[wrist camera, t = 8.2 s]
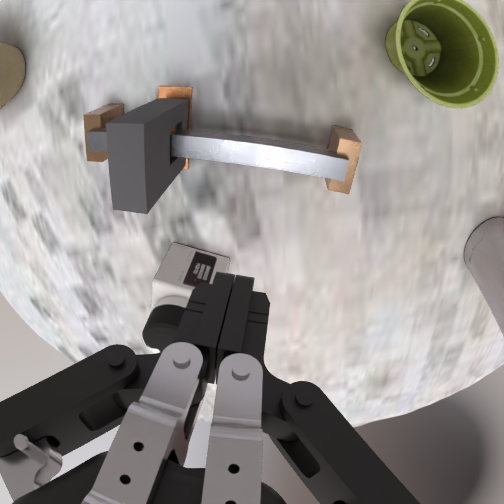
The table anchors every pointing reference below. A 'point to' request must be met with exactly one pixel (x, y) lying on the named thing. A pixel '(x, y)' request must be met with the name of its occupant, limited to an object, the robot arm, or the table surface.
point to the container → (177, 290)
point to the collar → (144, 153)
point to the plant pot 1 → (10, 72)
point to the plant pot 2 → (445, 51)
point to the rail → (240, 146)
